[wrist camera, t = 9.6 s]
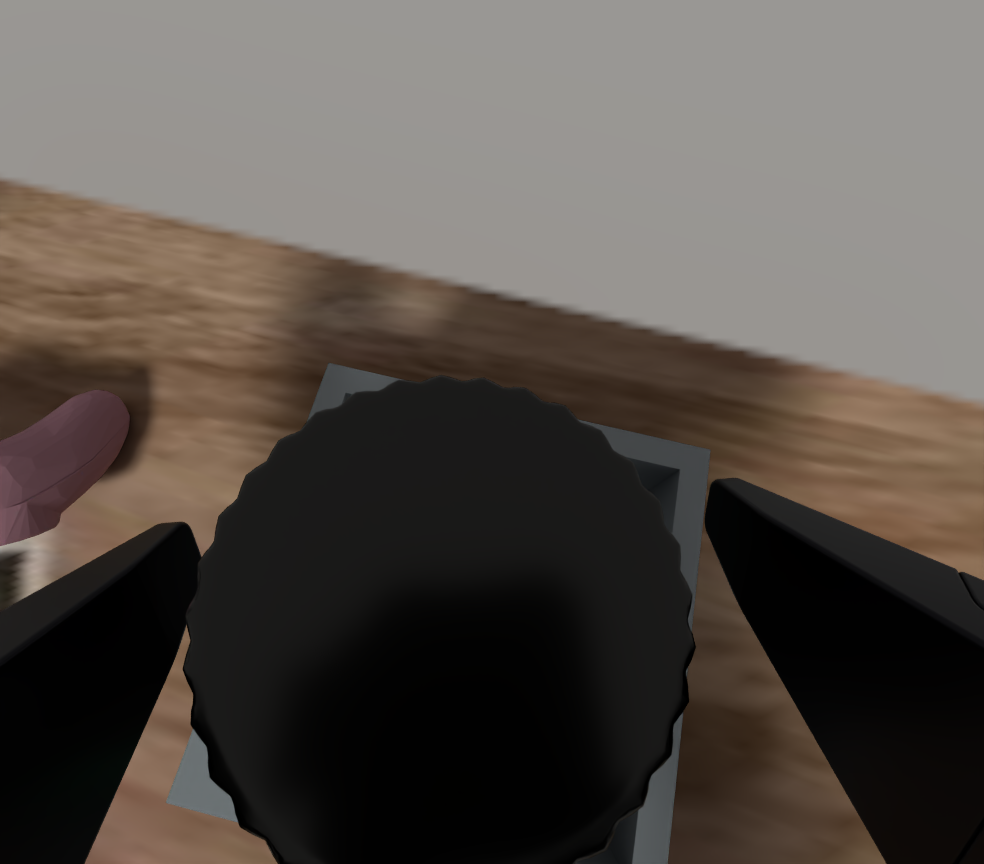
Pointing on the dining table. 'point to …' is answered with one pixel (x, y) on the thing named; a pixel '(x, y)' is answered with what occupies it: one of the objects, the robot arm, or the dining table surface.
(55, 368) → the dining table surface
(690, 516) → the tray
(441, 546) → the supplement bottle
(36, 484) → the video game controller
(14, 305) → the dining table surface
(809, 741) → the dining table surface
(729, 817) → the dining table surface
